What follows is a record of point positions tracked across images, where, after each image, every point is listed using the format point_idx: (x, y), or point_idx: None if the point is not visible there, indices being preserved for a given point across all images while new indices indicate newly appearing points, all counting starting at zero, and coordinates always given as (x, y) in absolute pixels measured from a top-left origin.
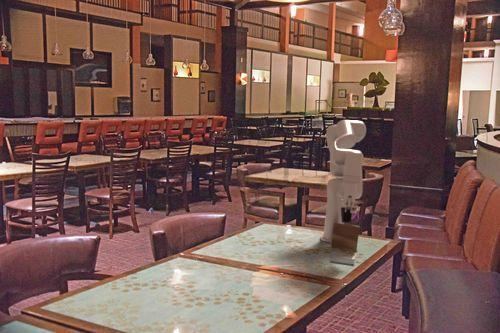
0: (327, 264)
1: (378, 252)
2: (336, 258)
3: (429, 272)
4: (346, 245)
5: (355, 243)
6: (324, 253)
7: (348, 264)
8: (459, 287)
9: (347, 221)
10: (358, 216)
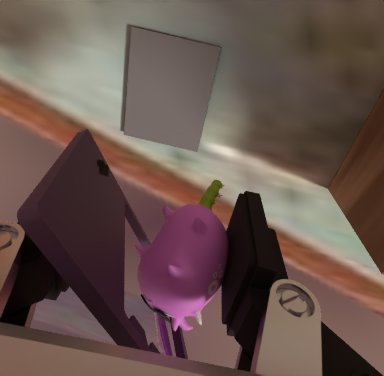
0: (94, 3)
1: (321, 261)
2: (182, 68)
3: (148, 316)
4: (360, 157)
5: (345, 201)
6: (283, 14)
7: (126, 112)
8: (67, 328)
9: None
10: (156, 320)
